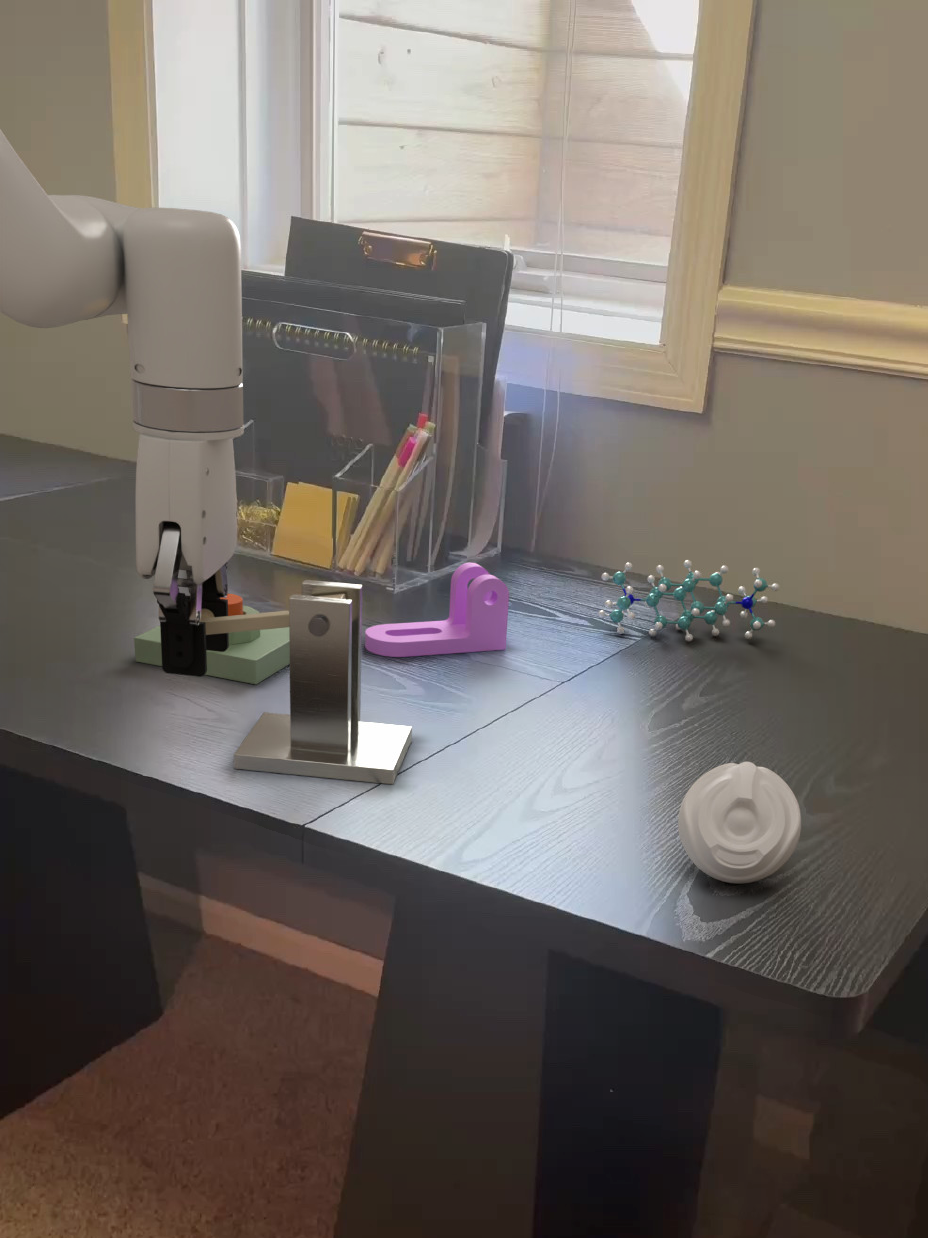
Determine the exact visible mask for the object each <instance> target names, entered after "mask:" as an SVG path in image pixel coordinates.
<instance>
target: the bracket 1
mask: <svg viewBox="0 0 928 1238" xmlns="http://www.w3.org/2000/svg"><path fill="white" fill-rule="evenodd" d="M336 594H345V597H346V599H336V598H326V597H315V596H326V595H336ZM288 610H289V647H290V664H289V714H286V713H276V712H268V711H267V712H265V711H264V712H263V713H262V714H261V716H260V717H259V719H258V720H257V722H256V723H255V724H254V726H253V727H252V728H251V730H250V731H249V733H248V734H247V735H246V737H245V738H244V740H243V741H242V742H241V744H240V745H239V746H238V747H237V749H236V750H235V752H234V753H233V767H234V769H235V770H245V771H254V772H264V773H276V774H284V775H295V776H296V775H297V776H303V777H304V776H305V777H316V778H325V779H335V780H345V781H353V782H354V781H356V782H363V783H365V782H367V783H375V784H383V785H393V784H394V782H395V780H396V778H397V775H398V773H399V772H400V768H401V766H402V764H403V761H404V760H405V757H406V754H407V752H408V750H409V747H410V744H411V743H412V740H413V727H412V726H411V725H410V726H408V725H398V724H390V723H389V724H388V723H378V722H370V721H369V722H368V721H361V708H362V707H361V706H362V705H361V702H362V699H361V698H362V646H363V645H362V641H363V637H362V635H363V584H355V583H345V582H335V581H321V580H312V579H304V580H303V581H302V582H301V594H291V595H290V596H289V598H288Z"/></svg>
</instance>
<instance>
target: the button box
mask: <svg viewBox="0 0 928 1238" xmlns="http://www.w3.org/2000/svg"><path fill="white" fill-rule="evenodd" d="M256 613H260V611H259V610H257V609H255V608H253V607H250V606H248V605H243V615H246V614H256ZM133 642H134V644H133V645H134V656H135V659H134V660H135V662H138V663H143V664H148V665H153V666H157V667H158V666H159V667H162V653H161V631H160V625H157V626H155V627H153V628H151V629H149V630H147V631H145V632H143V633H141V634H139V635H136V636H135V637H134V638H133ZM206 653H207V672H206V673H205V675H204V676H210V677H215V678H220V679H225V680H230V681H236V682H241V683H247V684H251V685H258V684H259V683H261V682H263V681H264V680H266V679H268V678H269V677H271V676H272V675H274V674H276V673H277V672H280V671H281V670H283V669H284V668H286V667H287V666H288V665H289V666H290V647H289V627H286V628H275V629H264V630H253V631H242V632H232V633H229V647H228V649H227V650H226V651H224V652H219V651H210V650H206Z"/></svg>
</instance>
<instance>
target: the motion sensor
mask: <svg viewBox="0 0 928 1238" xmlns="http://www.w3.org/2000/svg"><path fill="white" fill-rule="evenodd" d="M677 830H678V831H677V832H678V836H679V840H680V843H681V845H682V847H683V849H684V851H685V853H686V855H687V856H688V858H689V859H690V861H691V862H692V863H693V864H694V865H695V867H697V868H698V869H699V870H700V871H701V872H703V873H704V874H706V875H707V876H709V877H711V878H713V879H715V880H718V881H721V882H725V883H728V884H749V883H753V882H758V881H760V880H763V879H765V878H768V877H770V876H771V875H773V874H774V873H775V872H777V871H778V870H780V868H782V867H783V866H784V865H785V863H787V861H788V860H789V859H790V858H791V856H792V855H793V853H794V852H795V850H796V848H797V846H798V844H799V841H800V837H801V833H802V816H801V809H800V806H799V802H798V800H797V797H796V796H795V794H794V792H793V790H792V789H791V788H790V786H789V785H788V783H786V781H785V780H784V779H783V778H782V777H780V775H778V774H777V772H776V773H775V772H774V771H773V770H771V769H770V768H767V767H764V766H757V765H756V764H755V763H753V762H751V761H743V762H740V763H739V764H738V763H735V762H729V763H723V764H721V765H718V766H716V767H714V768H712V769H710V770H708V771H707V772H705V773H704V774H702V775H701V776H700V777H699V778H698V779H697V780H696V781H695V782H694V783H693V784H692V785H691V786H690V787H689V789H688V791H687V792H686V794H685V795H684V797H683V799H682V801H681V805H680V808H679V811H678V817H677Z"/></svg>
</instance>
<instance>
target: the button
mask: <svg viewBox="0 0 928 1238" xmlns="http://www.w3.org/2000/svg"><path fill="white" fill-rule="evenodd" d="M220 599H226V600H228V616H235V615H243V606H244V603H243V602H244V600H243V598H242V596H240V595H237V594H234V593H229V592H228V594H227V597H226V598H220Z"/></svg>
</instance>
